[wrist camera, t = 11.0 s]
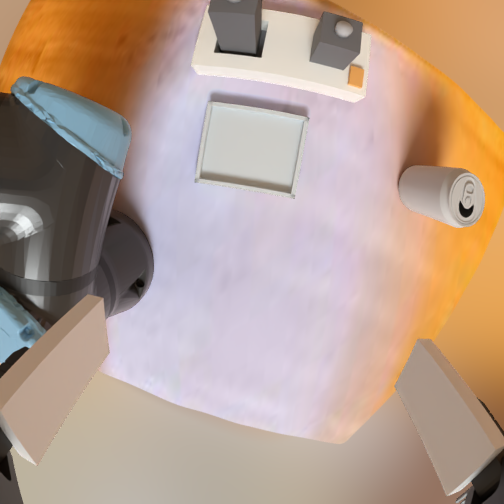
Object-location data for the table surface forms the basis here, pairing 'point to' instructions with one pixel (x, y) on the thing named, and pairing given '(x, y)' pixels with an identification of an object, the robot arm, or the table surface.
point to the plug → (237, 25)
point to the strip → (295, 54)
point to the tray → (251, 149)
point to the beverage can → (443, 194)
